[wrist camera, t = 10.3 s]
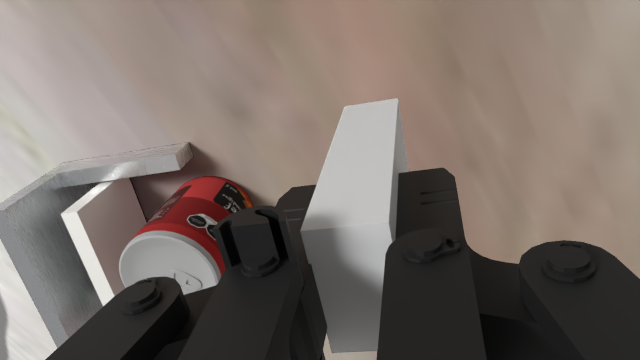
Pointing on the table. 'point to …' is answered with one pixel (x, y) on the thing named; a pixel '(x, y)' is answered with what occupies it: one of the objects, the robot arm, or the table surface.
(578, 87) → the table surface
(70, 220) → the white flat block
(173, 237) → the canned food
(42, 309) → the frame
